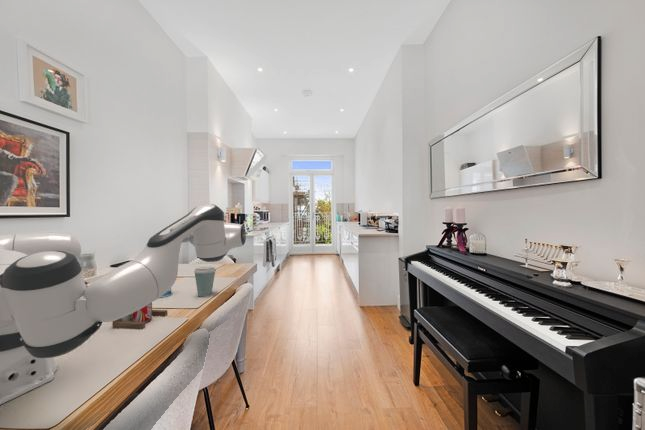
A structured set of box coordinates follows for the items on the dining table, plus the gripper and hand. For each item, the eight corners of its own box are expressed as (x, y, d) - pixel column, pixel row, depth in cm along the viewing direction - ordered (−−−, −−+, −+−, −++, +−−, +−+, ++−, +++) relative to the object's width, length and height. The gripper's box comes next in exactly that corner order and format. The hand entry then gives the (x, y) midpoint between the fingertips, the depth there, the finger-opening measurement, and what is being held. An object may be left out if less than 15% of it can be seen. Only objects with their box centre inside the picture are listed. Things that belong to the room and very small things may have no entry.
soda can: (143, 325, 108) (142, 295, 108) (126, 324, 109) (126, 294, 109) (156, 318, 115) (155, 289, 115) (140, 317, 116) (140, 289, 116)
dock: (142, 329, 105) (141, 300, 105) (112, 327, 106) (111, 299, 106) (167, 314, 119) (167, 290, 119) (141, 313, 120) (140, 289, 120)
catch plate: (124, 324, 108) (124, 304, 108) (121, 324, 108) (121, 304, 108) (144, 314, 118) (143, 296, 118) (141, 314, 118) (141, 296, 118)
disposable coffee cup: (195, 293, 150) (195, 265, 150) (216, 291, 153) (216, 264, 153) (192, 299, 140) (192, 269, 140) (215, 296, 143) (215, 268, 143)
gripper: (184, 247, 89) (144, 247, 91) (216, 240, 109) (183, 240, 111) (183, 228, 89) (144, 228, 90) (215, 224, 109) (183, 225, 111)
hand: (166, 235), depth 101 cm, fingers closed
